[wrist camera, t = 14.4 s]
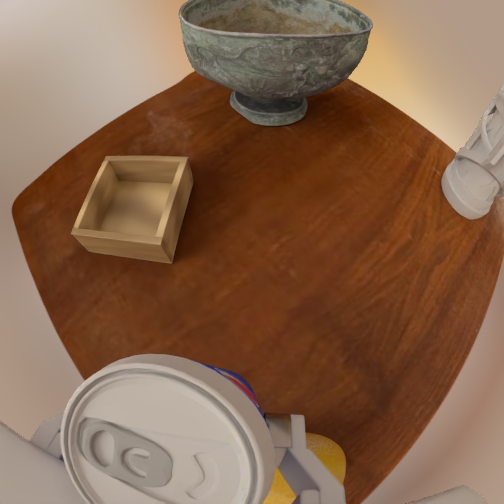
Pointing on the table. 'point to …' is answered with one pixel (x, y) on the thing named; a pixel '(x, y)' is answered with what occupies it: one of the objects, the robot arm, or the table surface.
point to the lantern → (478, 166)
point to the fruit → (326, 453)
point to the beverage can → (167, 435)
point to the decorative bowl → (274, 51)
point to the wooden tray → (136, 207)
